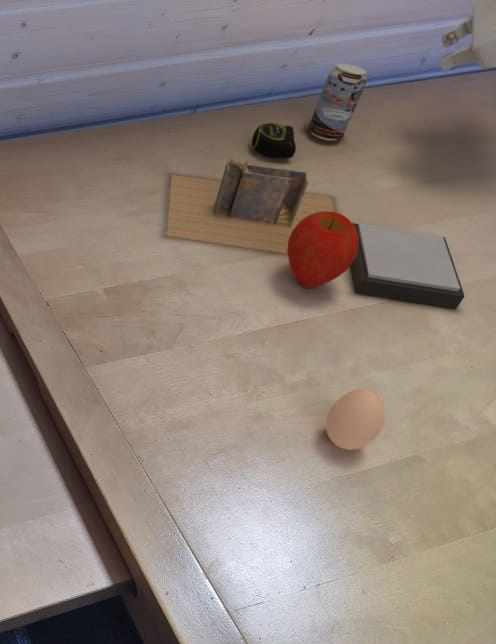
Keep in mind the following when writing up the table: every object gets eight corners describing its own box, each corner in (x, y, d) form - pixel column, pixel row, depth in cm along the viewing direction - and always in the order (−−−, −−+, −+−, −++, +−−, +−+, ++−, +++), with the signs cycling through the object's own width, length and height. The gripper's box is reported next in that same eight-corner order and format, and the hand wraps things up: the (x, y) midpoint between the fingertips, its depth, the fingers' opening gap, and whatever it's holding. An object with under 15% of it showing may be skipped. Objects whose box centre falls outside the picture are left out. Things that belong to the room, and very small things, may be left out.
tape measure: (291, 165, 117) (298, 145, 115) (249, 159, 118) (255, 138, 116) (289, 144, 122) (297, 124, 119) (249, 138, 123) (255, 118, 120)
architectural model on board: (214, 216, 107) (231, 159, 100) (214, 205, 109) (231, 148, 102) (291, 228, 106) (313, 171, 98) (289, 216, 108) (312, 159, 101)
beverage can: (304, 141, 123) (329, 73, 114) (308, 121, 128) (332, 55, 119) (341, 149, 122) (369, 81, 113) (344, 129, 126) (372, 63, 118)
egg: (369, 465, 77) (402, 418, 71) (319, 457, 77) (348, 410, 71) (361, 427, 80) (393, 379, 74) (314, 419, 81) (341, 371, 75)
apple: (281, 256, 101) (307, 191, 93) (342, 274, 99) (374, 210, 91) (268, 291, 96) (294, 226, 88) (332, 312, 93) (365, 246, 85)
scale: (437, 250, 103) (447, 233, 101) (456, 309, 95) (468, 293, 92) (345, 236, 105) (353, 219, 103) (355, 293, 96) (364, 276, 94)
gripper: (537, -42, 106) (436, 12, 115) (546, 3, 93) (430, 60, 102) (552, -4, 108) (451, 46, 117) (562, 45, 95) (448, 97, 104)
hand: (442, 53), depth 110 cm, fingers open, 8 cm apart
